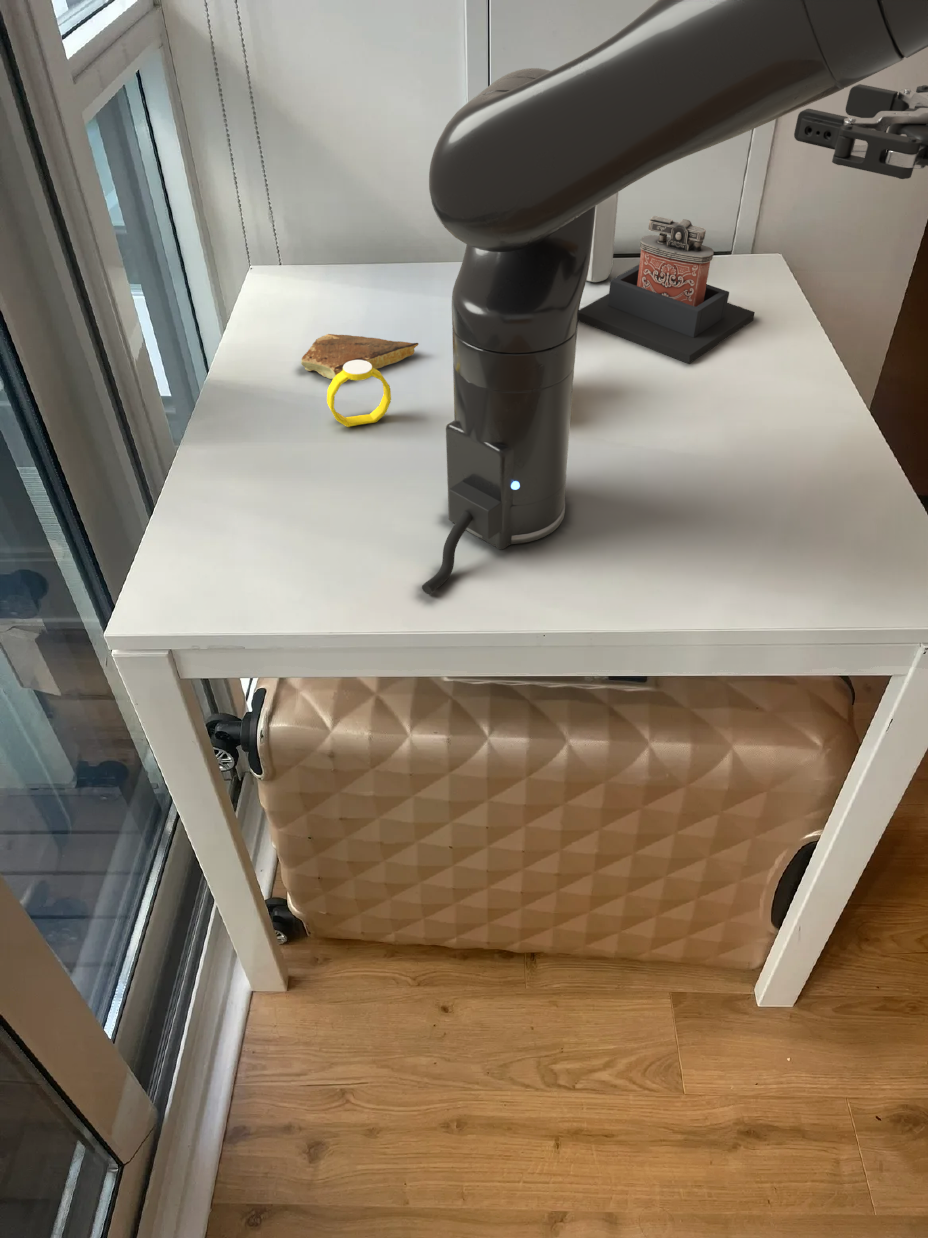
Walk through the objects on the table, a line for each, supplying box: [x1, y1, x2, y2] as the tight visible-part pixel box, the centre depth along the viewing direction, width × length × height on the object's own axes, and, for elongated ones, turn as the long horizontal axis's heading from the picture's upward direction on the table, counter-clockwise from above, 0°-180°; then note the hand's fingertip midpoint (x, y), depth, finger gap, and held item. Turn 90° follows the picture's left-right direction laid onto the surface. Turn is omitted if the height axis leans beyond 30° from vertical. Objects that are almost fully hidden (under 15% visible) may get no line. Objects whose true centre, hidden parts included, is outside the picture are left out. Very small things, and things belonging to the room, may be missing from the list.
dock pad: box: [578, 263, 756, 365], centre depth 105 cm, size 13×15×4 cm
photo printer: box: [586, 192, 619, 283], centre depth 112 cm, size 10×4×12 cm, turn 39°
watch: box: [326, 360, 392, 428], centre depth 90 cm, size 6×3×6 cm, turn 111°
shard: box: [300, 333, 419, 380], centre depth 99 cm, size 11×8×2 cm
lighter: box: [637, 215, 715, 307], centre depth 102 cm, size 8×3×10 cm, turn 57°
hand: (824, 110), depth 76 cm, fingers open, 8 cm apart
